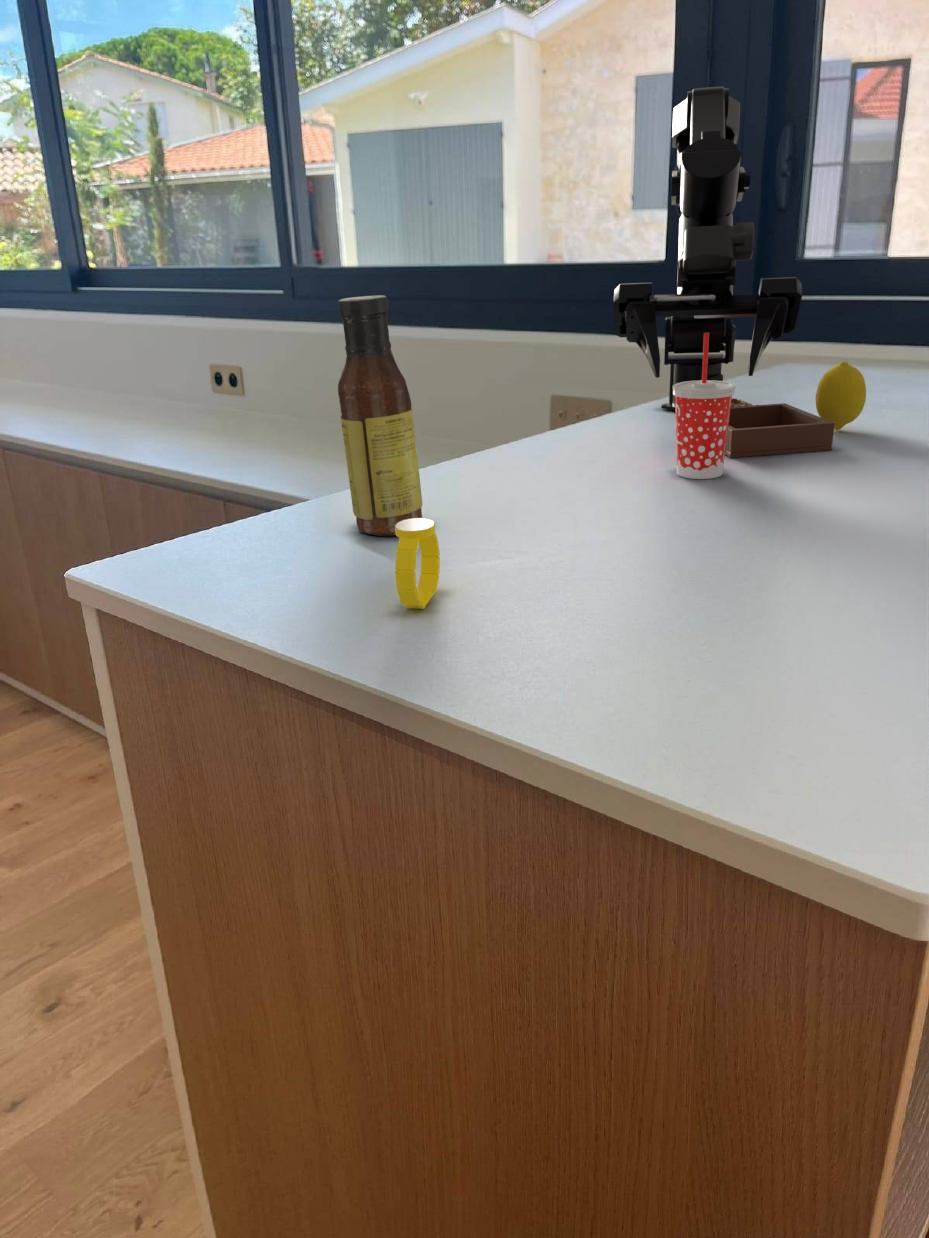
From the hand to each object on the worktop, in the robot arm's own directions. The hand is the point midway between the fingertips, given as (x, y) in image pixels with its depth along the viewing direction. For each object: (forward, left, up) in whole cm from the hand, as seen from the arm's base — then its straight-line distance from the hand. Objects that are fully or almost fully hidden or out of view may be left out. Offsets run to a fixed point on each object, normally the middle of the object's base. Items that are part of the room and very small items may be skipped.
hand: (703, 374), depth 96 cm
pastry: (-14, +22, -10) cm, 28 cm away
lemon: (0, +25, -10) cm, 27 cm away
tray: (-3, +14, -10) cm, 17 cm away
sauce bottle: (-6, -35, -10) cm, 37 cm away
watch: (+11, -43, -10) cm, 46 cm away
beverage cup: (+1, -2, -10) cm, 10 cm away
